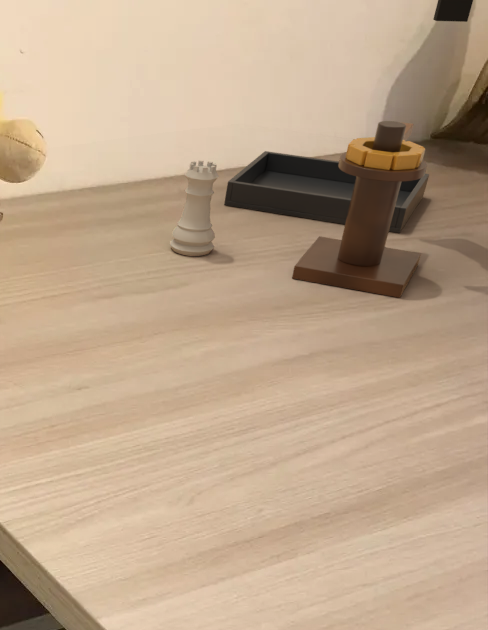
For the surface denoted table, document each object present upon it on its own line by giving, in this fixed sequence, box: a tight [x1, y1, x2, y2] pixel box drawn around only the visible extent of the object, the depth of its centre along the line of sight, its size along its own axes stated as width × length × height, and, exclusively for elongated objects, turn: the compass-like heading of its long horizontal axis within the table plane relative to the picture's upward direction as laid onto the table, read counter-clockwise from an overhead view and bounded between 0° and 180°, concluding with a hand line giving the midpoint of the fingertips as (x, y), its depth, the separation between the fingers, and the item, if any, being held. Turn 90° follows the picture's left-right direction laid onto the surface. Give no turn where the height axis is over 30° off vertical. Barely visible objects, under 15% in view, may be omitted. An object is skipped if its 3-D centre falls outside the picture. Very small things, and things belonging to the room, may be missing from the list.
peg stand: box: [291, 120, 428, 299], centre depth 95 cm, size 10×10×13 cm
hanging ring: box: [345, 121, 426, 170], centre depth 95 cm, size 14×6×1 cm, turn 153°
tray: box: [223, 150, 430, 234], centre depth 117 cm, size 19×15×2 cm
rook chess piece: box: [169, 160, 220, 257], centre depth 101 cm, size 4×4×8 cm
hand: (425, 9), depth 94 cm, fingers open, 13 cm apart
